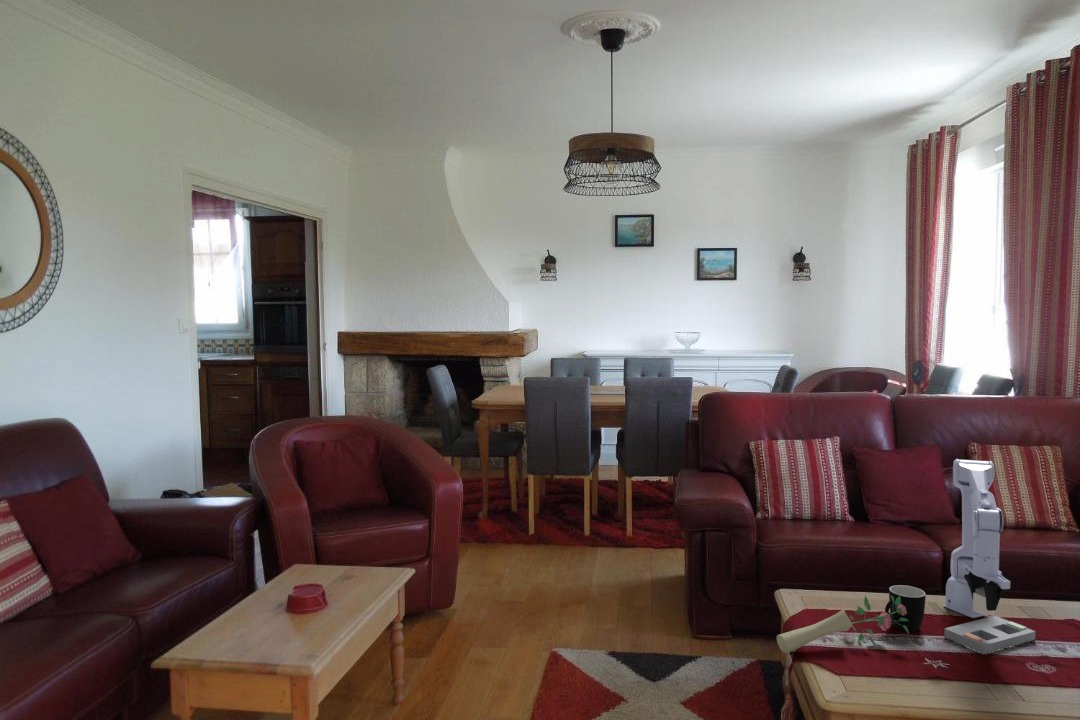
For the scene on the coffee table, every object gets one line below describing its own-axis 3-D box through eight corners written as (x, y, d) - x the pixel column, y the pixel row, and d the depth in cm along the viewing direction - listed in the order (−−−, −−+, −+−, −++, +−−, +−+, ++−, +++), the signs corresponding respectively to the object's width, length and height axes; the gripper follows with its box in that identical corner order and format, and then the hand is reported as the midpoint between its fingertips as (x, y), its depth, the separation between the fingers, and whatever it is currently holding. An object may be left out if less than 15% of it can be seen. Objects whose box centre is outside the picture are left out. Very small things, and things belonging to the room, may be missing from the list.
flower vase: (782, 674, 192) (893, 630, 200) (806, 683, 180) (923, 635, 188) (766, 628, 194) (877, 587, 202) (789, 634, 182) (906, 589, 191)
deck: (944, 637, 196) (944, 626, 196) (994, 624, 204) (995, 614, 204) (983, 654, 186) (983, 643, 186) (1035, 640, 194) (1035, 629, 194)
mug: (905, 618, 209) (906, 583, 208) (932, 630, 200) (933, 594, 200) (872, 624, 204) (873, 589, 204) (898, 637, 196) (899, 600, 195)
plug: (972, 610, 192) (973, 588, 192) (982, 608, 194) (983, 586, 193) (985, 616, 189) (986, 593, 188) (995, 613, 190) (996, 591, 190)
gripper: (1022, 563, 184) (1020, 616, 184) (980, 545, 198) (978, 594, 199) (996, 564, 183) (994, 618, 183) (955, 546, 197) (954, 596, 198)
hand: (984, 606), depth 191 cm, fingers closed on plug, 4 cm apart
